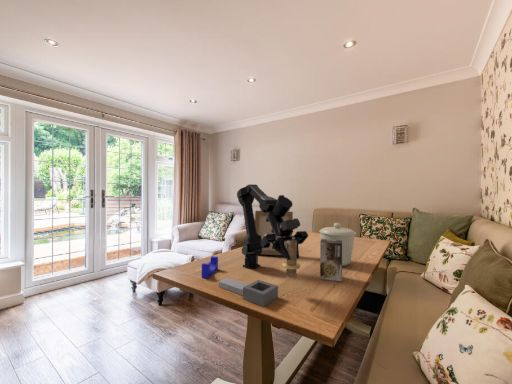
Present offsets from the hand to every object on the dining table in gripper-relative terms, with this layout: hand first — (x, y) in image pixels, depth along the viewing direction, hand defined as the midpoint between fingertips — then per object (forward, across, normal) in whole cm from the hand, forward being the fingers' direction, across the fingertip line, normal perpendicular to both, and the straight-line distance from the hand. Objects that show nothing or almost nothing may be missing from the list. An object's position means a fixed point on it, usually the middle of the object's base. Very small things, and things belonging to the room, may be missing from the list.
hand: (293, 258), depth 87 cm
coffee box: (+5, +25, +14) cm, 29 cm away
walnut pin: (+4, 0, +6) cm, 7 cm away
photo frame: (-26, +22, +46) cm, 57 cm away
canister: (-5, +42, +24) cm, 49 cm away
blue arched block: (-15, -22, +34) cm, 43 cm away
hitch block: (+3, -15, +16) cm, 22 cm away
